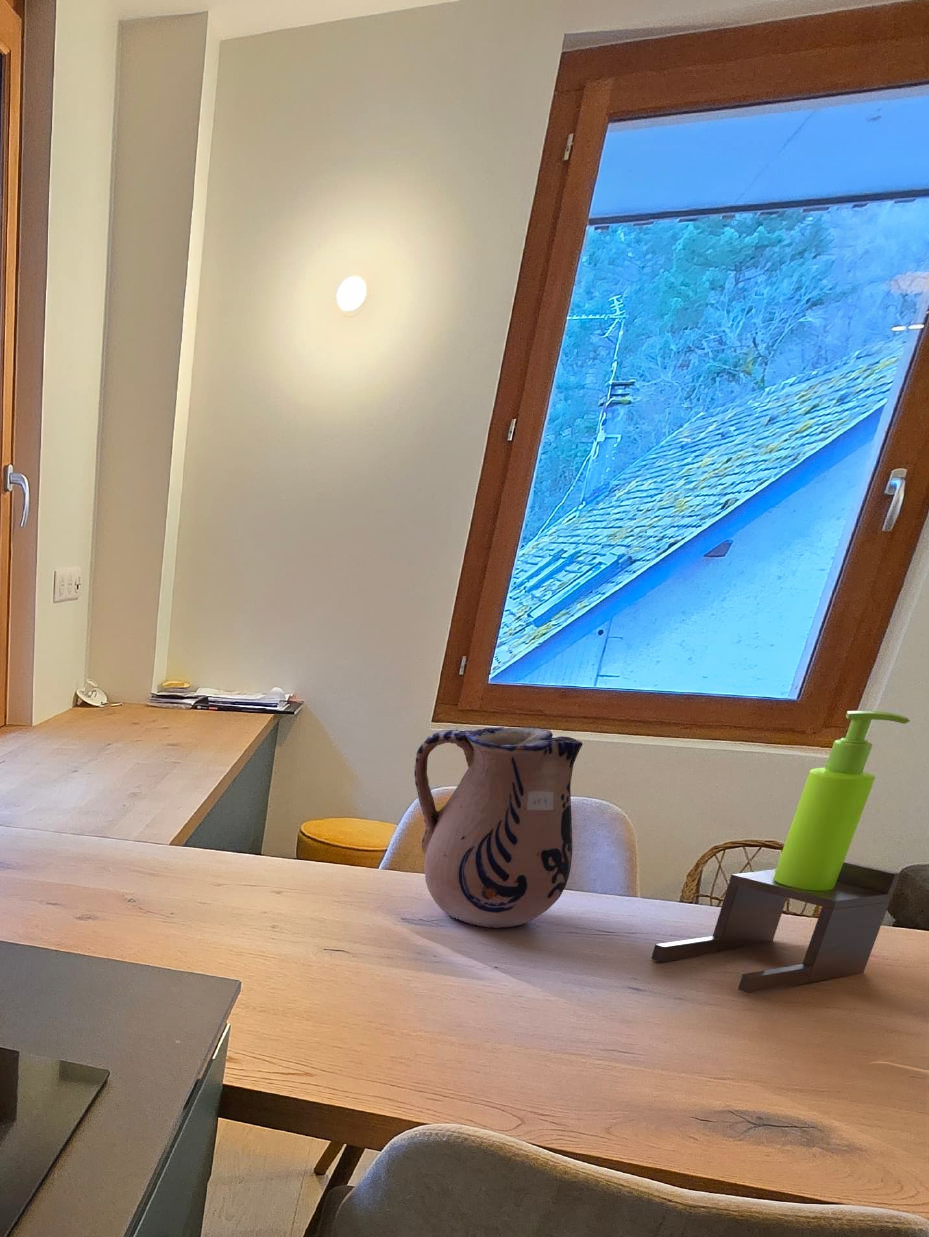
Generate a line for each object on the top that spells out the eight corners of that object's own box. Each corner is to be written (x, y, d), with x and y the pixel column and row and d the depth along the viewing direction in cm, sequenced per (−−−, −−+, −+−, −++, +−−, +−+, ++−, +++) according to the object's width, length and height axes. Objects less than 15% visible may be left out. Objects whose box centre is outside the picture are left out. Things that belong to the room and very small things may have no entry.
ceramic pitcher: (558, 949, 133) (609, 753, 122) (383, 926, 141) (416, 740, 130) (553, 905, 147) (597, 726, 136) (394, 887, 155) (424, 716, 144)
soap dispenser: (848, 895, 119) (915, 718, 111) (774, 885, 123) (834, 713, 114) (842, 881, 124) (906, 710, 115) (771, 871, 127) (828, 705, 119)
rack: (863, 973, 124) (900, 873, 119) (747, 993, 118) (782, 888, 113) (762, 942, 134) (792, 849, 130) (650, 959, 128) (678, 862, 123)
